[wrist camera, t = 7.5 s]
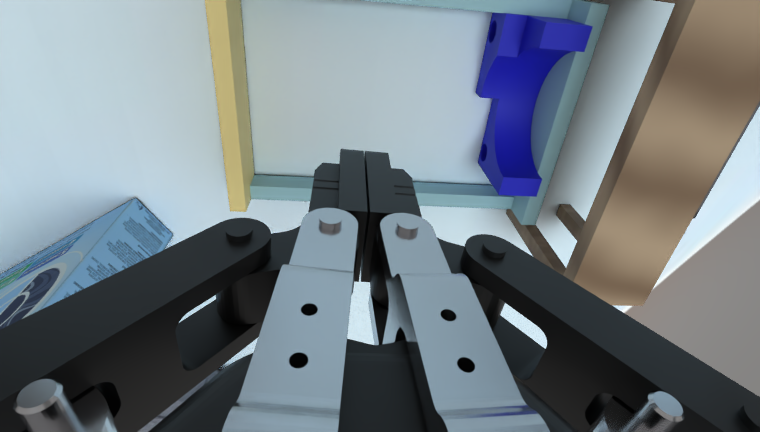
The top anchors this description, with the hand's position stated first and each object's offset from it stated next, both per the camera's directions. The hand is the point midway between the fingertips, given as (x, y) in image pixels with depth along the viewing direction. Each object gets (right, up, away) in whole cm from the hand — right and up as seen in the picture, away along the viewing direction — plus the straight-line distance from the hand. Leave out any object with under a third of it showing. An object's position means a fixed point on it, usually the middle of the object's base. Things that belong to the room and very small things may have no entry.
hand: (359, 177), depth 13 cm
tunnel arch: (+16, +7, +21) cm, 28 cm away
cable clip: (+10, +9, +20) cm, 24 cm away
